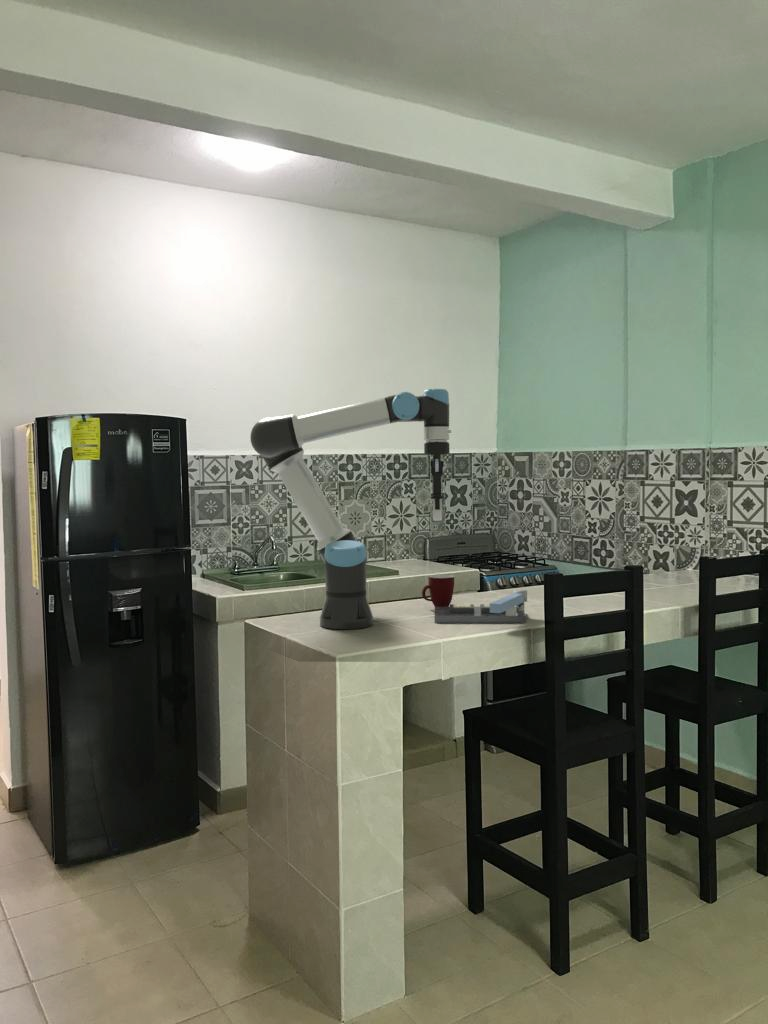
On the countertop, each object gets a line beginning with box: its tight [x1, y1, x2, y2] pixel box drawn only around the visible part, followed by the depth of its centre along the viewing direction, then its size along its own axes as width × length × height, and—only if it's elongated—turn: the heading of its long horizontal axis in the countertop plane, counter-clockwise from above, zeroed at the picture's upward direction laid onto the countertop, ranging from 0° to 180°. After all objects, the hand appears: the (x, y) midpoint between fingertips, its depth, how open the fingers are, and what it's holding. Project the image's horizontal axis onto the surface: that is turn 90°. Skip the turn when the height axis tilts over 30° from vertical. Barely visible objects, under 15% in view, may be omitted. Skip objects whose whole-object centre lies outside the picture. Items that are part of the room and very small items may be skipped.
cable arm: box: [489, 589, 528, 613], centre depth 237 cm, size 23×4×3 cm, turn 152°
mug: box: [421, 574, 455, 608], centre depth 263 cm, size 10×8×10 cm
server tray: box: [434, 602, 527, 624], centre depth 246 cm, size 26×15×4 cm, turn 86°
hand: (437, 520), depth 251 cm, fingers closed
